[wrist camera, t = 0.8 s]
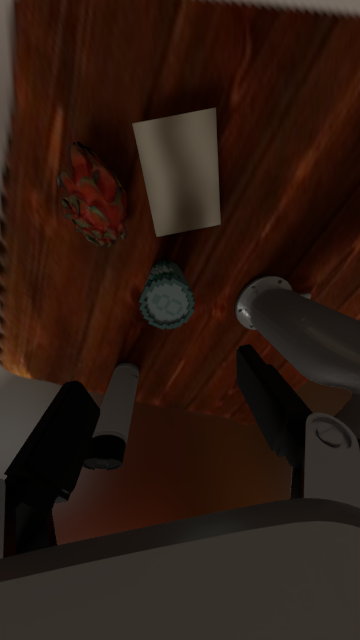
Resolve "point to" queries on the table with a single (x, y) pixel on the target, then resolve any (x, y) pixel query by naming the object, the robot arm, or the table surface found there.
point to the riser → (181, 170)
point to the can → (166, 296)
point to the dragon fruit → (94, 198)
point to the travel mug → (113, 420)
